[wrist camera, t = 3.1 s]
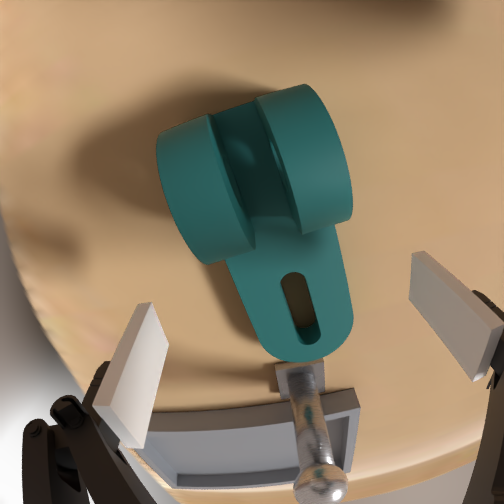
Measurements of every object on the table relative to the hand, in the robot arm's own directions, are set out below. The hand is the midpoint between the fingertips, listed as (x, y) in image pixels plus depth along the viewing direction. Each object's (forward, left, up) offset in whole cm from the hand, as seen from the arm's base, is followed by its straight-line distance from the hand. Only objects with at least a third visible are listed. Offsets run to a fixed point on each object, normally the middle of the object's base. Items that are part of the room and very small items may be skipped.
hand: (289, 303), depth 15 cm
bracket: (0, 0, -7) cm, 7 cm away
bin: (+24, -7, -6) cm, 25 cm away
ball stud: (+12, 0, -6) cm, 14 cm away
